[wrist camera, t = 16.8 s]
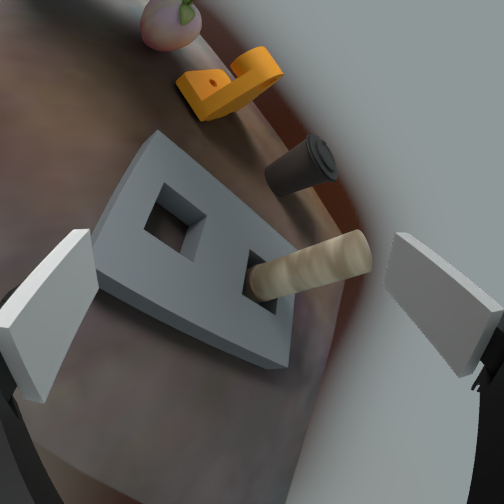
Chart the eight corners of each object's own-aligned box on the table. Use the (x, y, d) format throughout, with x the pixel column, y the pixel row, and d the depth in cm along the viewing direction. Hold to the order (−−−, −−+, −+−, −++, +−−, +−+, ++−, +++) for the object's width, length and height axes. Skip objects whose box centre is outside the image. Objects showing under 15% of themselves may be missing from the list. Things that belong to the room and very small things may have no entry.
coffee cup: (273, 154, 53) (322, 127, 47) (296, 195, 54) (346, 172, 48) (251, 164, 46) (307, 133, 40) (278, 211, 48) (335, 185, 42)
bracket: (211, 78, 46) (268, 35, 38) (234, 113, 47) (294, 73, 40) (169, 83, 37) (234, 28, 30) (196, 125, 39) (266, 74, 32)
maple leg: (233, 264, 37) (352, 219, 28) (256, 281, 39) (371, 244, 30) (226, 297, 34) (354, 258, 25) (251, 312, 37) (374, 280, 28)
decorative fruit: (175, 73, 39) (225, 30, 33) (127, 58, 32) (177, 5, 26) (166, 35, 40) (210, -6, 34) (124, 19, 33) (167, -28, 27)
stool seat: (73, 272, 22) (86, 262, 20) (141, 144, 31) (157, 129, 29) (267, 369, 36) (287, 367, 34) (280, 257, 45) (298, 250, 43)
